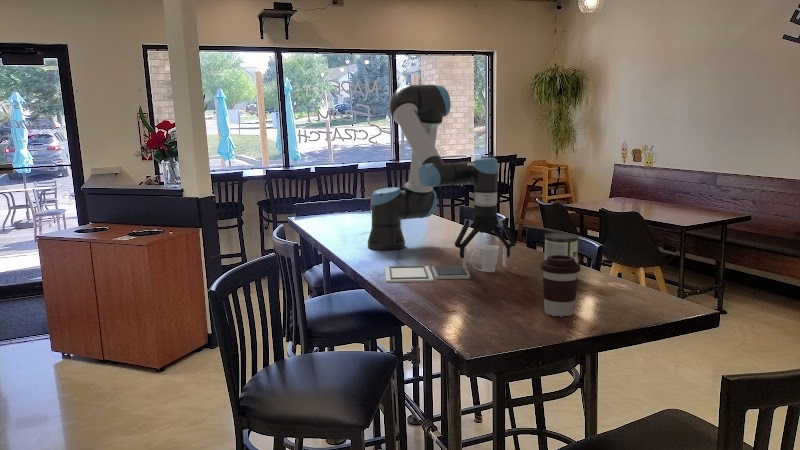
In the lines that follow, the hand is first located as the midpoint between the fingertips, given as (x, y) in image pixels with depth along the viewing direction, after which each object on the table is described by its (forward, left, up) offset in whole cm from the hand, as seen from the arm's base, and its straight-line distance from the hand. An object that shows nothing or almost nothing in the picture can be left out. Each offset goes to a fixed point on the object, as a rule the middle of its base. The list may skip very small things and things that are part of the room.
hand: (484, 267), depth 203 cm
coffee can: (+12, +22, -2) cm, 25 cm away
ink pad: (+3, -12, -1) cm, 12 cm away
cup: (0, 0, -1) cm, 1 cm away
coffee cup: (+46, +11, -1) cm, 47 cm away
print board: (+3, -26, -1) cm, 26 cm away
